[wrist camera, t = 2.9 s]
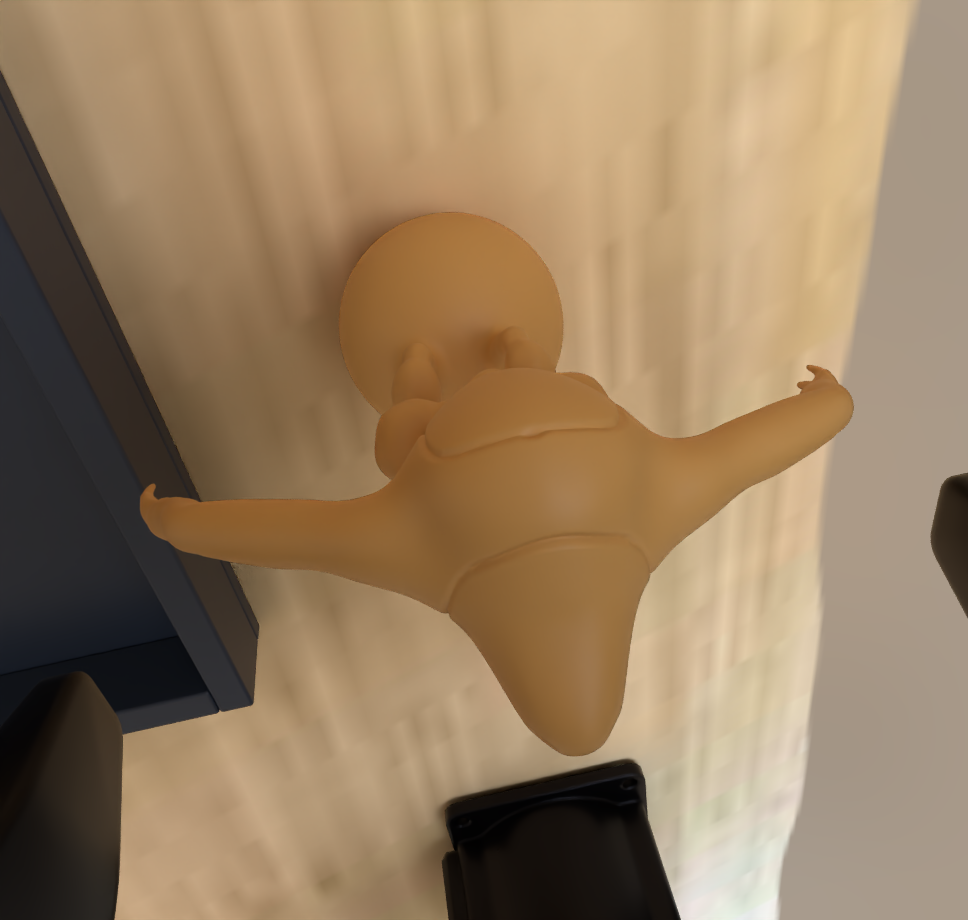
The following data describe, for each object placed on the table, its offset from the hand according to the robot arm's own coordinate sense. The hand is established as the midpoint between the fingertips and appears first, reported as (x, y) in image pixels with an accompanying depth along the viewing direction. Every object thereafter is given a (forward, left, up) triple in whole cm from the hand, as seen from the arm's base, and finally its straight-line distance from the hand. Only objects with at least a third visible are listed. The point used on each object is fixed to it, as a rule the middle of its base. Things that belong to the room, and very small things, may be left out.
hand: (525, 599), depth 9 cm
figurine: (0, 0, -10) cm, 10 cm away
